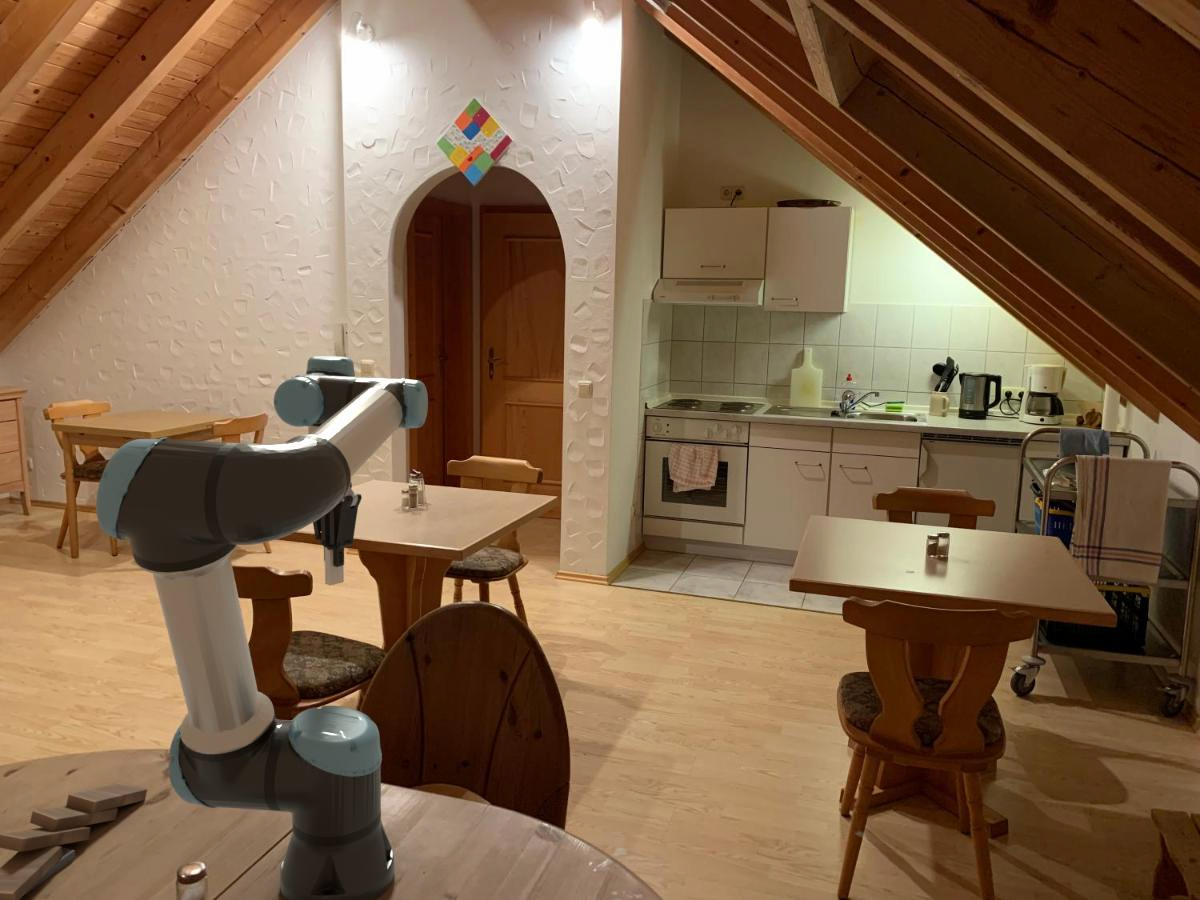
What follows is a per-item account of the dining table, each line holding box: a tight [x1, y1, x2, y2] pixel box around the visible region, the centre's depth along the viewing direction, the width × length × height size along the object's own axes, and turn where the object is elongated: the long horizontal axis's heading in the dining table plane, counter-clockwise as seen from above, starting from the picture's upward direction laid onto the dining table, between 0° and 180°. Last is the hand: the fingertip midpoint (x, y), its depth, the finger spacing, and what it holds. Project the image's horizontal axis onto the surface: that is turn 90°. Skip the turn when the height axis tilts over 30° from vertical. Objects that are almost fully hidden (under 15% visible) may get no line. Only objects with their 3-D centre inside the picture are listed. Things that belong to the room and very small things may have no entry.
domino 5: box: [65, 782, 148, 813], centre depth 138 cm, size 2×5×10 cm
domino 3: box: [22, 846, 76, 897], centre depth 123 cm, size 2×5×10 cm
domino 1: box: [29, 805, 119, 831], centre depth 132 cm, size 2×5×10 cm
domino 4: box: [0, 845, 63, 900], centre depth 120 cm, size 2×5×10 cm
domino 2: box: [0, 826, 91, 853], centre depth 127 cm, size 2×5×10 cm
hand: (334, 582), depth 156 cm, fingers closed
